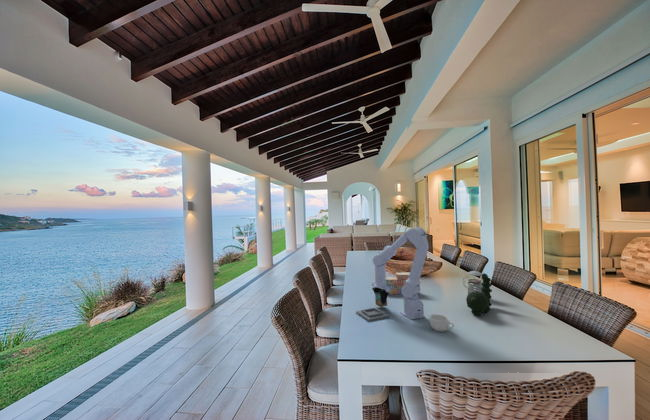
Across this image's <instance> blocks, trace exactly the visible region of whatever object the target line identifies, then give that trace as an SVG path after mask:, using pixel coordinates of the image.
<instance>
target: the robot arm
mask: <svg viewBox="0 0 650 420" xmlns="http://www.w3.org/2000/svg"><path fill="white" fill-rule="evenodd" d="M427 236H428V235H427V232H426V231H425V230H424V228H423V227H419V226H417V227H414V228H413V227H411V228H409V229H407V231H405V232H403V233H402V234H401V235H400V236H399V238H397V239H396V240H395V242H393V243H392V244H391V245H385V246H384V247H383V250H381V251H379V252H378V255H377V254H376V255H374V257H373V258H372V263H373V265H374V281H372V282H371V286H372V291H373V293H374V294H375V293H377V292H379V293H380V296H381V302H382V304H385V303H386V300H387V301H388V296H389V295H390V294H389V292H390V288H389V287H388V286H387V285H386V277H387V276H386V275H387V274H386V272H387V271H386V270H387V268H386V267H387V265H386V264H387V263H388V261H389V260H390V259H391V258H393V256H395V255H396V252H397V250H398V249H400V247H402V246H403V245H404V244H405V243H406V242H410V243H412V244H413V245H414V247H415V248H416V251H415V254H414V257H413V261H412V265H411V268H410V271H409V272H410V274H409V278H408V279H407V281H406V283H405V285H404V286H403V287H402V290H401V292H402V294H401V296H403V310H402V311H400V314H401V315H402V316H405V317H407V318H408V319H411V320H416V319H421V318H425V317H426V315H425V314H424V313H425V312H424V310H425V309H424V302H423V301H422V300H421V299H420V297H419V293H420V292H421V286H420V285H421V281H420V279H421V275H422V272H423V268H424V265H425V262H426V258H427V255H428V252H429V249H430V246H429V242H428V237H427Z"/></svg>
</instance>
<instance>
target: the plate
mask: <svg viewBox="0 0 650 420" xmlns="http://www.w3.org/2000/svg"><path fill="white" fill-rule="evenodd" d="M355 313H356V315H358V316H359V317H361V318H362V319H364V320H365V321H366V322H373V321H379V320H383V319H387V318H390V314H388V313H386V312H384V311H383V310H381V309H379V308H377V307H370V308H365V309H361V310H356V312H355Z"/></svg>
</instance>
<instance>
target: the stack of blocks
mask: <svg viewBox="0 0 650 420" xmlns="http://www.w3.org/2000/svg"><path fill="white" fill-rule="evenodd" d="M409 274H410V271H408V272H395V276H394V277H391V276H388V277H387V276H386V285H387V286H388V287H389V288H390V292H389V294H388V295H402V292H401V290H402V287H403V286H404V285H405V283H406V281H407V279H408V278H409Z"/></svg>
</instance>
